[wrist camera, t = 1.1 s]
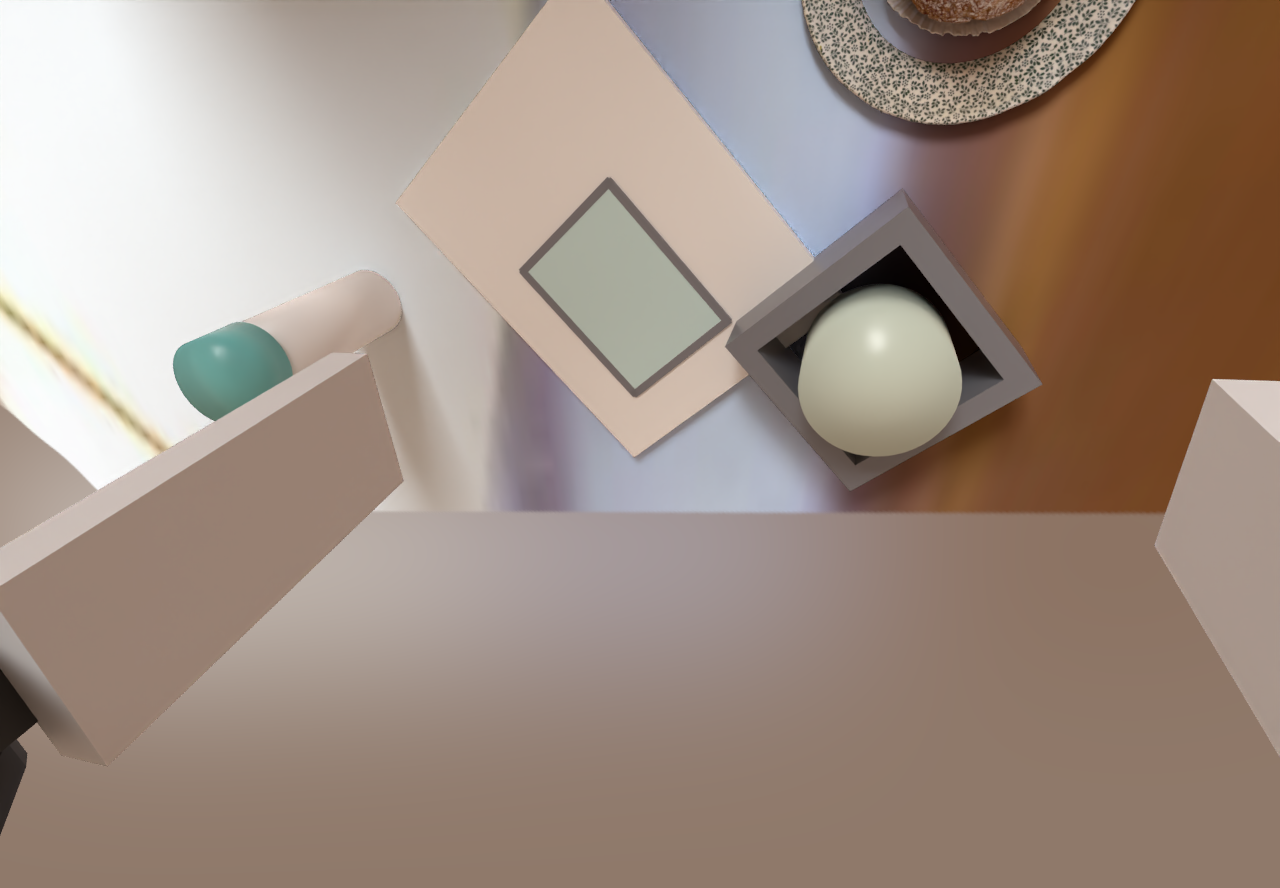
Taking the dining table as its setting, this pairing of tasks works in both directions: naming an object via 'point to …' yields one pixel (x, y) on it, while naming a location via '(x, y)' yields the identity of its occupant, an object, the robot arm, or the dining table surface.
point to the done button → (879, 371)
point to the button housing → (896, 222)
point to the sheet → (606, 222)
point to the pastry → (962, 88)
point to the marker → (284, 341)
